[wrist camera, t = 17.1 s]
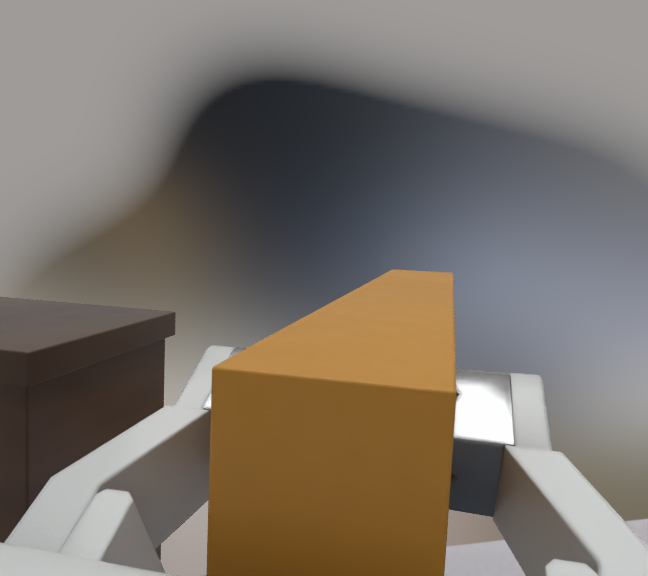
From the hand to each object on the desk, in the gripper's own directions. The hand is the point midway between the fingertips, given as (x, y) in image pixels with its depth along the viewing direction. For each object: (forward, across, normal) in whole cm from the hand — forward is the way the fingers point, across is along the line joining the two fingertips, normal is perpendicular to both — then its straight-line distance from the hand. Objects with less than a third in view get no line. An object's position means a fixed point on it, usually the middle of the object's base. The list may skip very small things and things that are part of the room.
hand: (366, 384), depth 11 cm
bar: (+5, 0, +5) cm, 7 cm away
